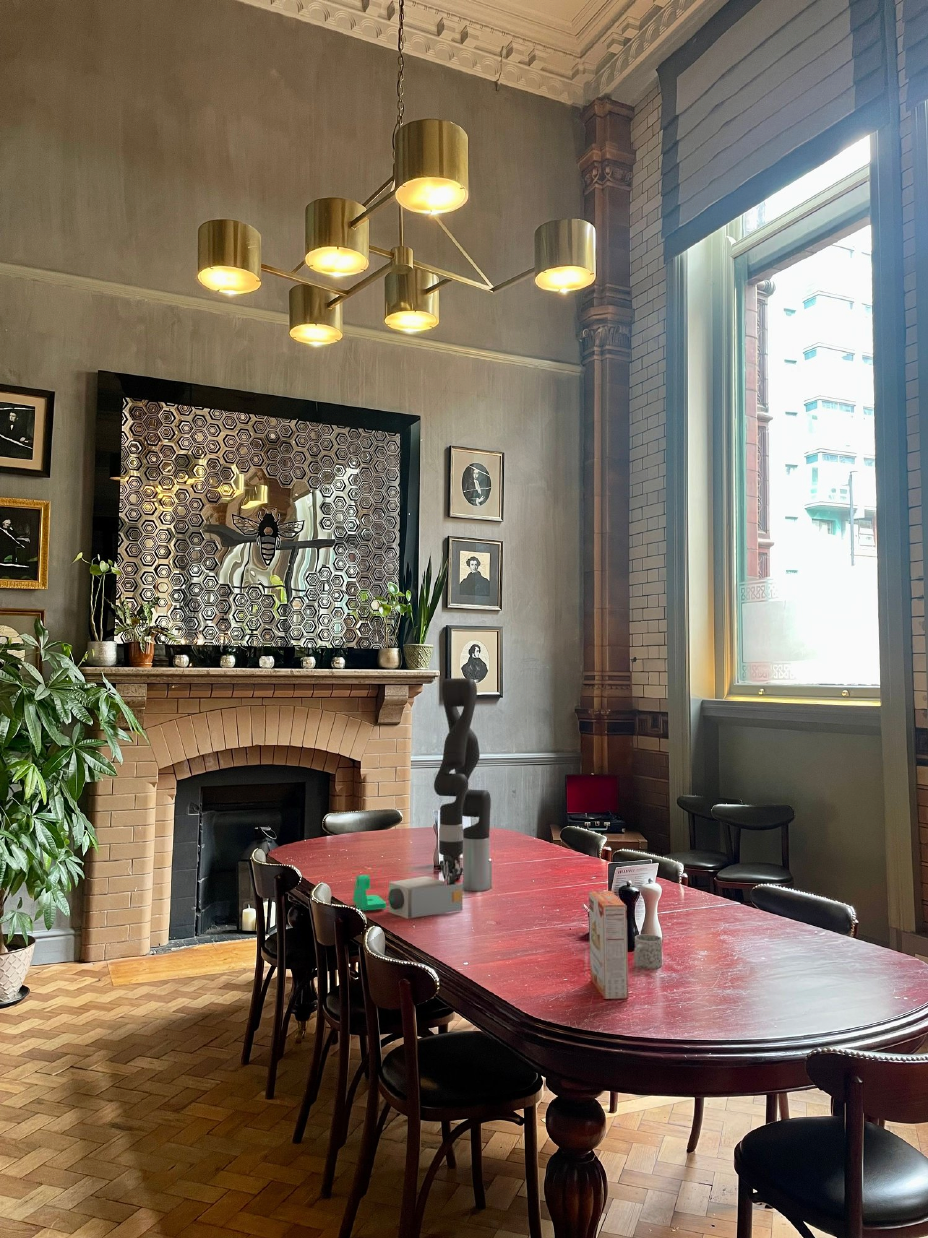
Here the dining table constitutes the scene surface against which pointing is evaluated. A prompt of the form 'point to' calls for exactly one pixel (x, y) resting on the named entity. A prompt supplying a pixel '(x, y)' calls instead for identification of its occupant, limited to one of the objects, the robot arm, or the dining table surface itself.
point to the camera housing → (407, 893)
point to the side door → (435, 900)
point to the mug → (648, 951)
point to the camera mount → (363, 900)
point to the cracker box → (608, 944)
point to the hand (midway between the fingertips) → (450, 894)
